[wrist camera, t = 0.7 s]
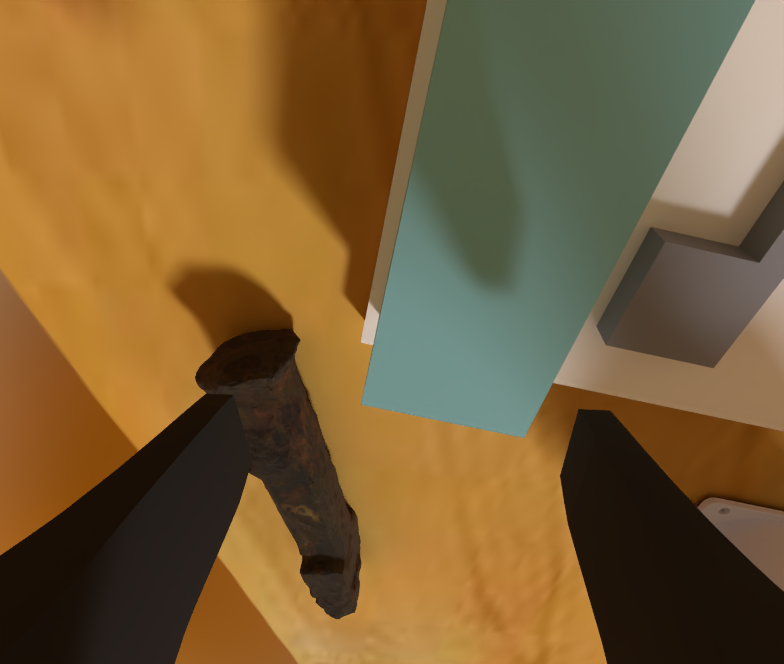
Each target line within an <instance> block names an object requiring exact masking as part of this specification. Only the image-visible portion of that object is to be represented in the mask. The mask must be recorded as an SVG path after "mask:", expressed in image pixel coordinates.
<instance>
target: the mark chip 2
mask: <svg viewBox="0 0 784 664" xmlns="http://www.w3.org/2000/svg"><path fill="white" fill-rule="evenodd" d="M739 247H740V248H741V249H742V250H744V251H745V252H746V253H748V254H749V255H750V256H751V257H753V258H754V259H755V260H756V261H758V262H759V263H762V264H767V265H771V266H776V267H780V268H784V181H783V183H782V184H781V185H780V187H779V188H778V190H777V191H776V193H775V194H774V196H773V197H772V199H771V200H770V202H769V203H768V204H767V206H766V207H765V209H764V210H763V212H762V213H761V215H760V216H759V218H758V219H757V221H756V222H755V223H754V225H753V226H752V228H751V229H750V231H749V232H748V234H747V235H746V237H745V238H744V240H743V241H742V243H741V244H740V245H739Z"/></svg>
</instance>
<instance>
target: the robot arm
mask: <svg viewBox="0 0 784 664" xmlns="http://www.w3.org/2000/svg"><path fill="white" fill-rule="evenodd" d="M251 461H252V457H251V453H250V450H249V446H248V443H247V440H246V436H245V433H244V429H243V426H242V422H241V419H240V415H239V412H238V409H237V405H236V402H235V398H234V395H228V394H205V395H204V396H203V397H202V398H200V399H199V400H198V401H197V402H195V403H194V404H193V405H192V406H191V407H190V408H188V409H187V410H186V411H185V412H184V413H183V414H181V415H180V416H179V417H178V418H177V419H176V420H175V421H173V422H172V423H171V424H170V425H169V426H168V427H166V428H165V429H164V430H163V431H162V432H161V433H160V434H158V435H157V436H156V437H155V438H154V439H153V440H151V441H150V442H149V443H148V444H147V445H145V446H144V447H143V448H142V449H141V450H140V451H138V452H137V453H136V454H135V455H134V456H132V457H131V458H130V459H129V460H128V461H126V462H125V463H124V464H123V465H122V466H121V467H119V468H118V469H117V470H116V471H114V472H113V473H112V474H110V475H109V476H108V477H107V478H105V479H104V480H103V481H102V482H100V483H99V484H98V485H97V486H95V487H94V488H93V489H92V490H90V491H89V492H87V493H86V494H85V495H84V496H82V497H81V498H80V499H79V500H77V501H76V502H75V503H73V504H72V505H71V506H70V507H69V508H67V509H66V510H64V511H63V512H62V513H60V514H59V515H58V516H56V517H55V518H53V519H52V520H51V521H49V522H48V523H47V524H45V525H44V526H42V527H41V528H40V529H38V530H37V531H35V532H34V533H32V534H31V535H29V536H28V537H27V538H25V539H24V540H22V541H21V542H19V543H18V544H16V545H15V546H13V547H12V548H11V549H9V550H8V551H6V552H5V553H3V554H2V555H0V664H175V661H176V658H177V655H178V652H179V648H180V645H181V643H182V639H183V636H184V634H185V631H186V628H187V625H188V623H189V620H190V618H191V615H192V613H193V610H194V607H195V605H196V603H197V601H198V598H199V596H200V594H201V591H202V589H203V587H204V584H205V582H206V580H207V578H208V575H209V573H210V571H211V568H212V566H213V564H214V561H215V559H216V557H217V554H218V552H219V550H220V548H221V545H222V543H223V541H224V538H225V536H226V534H227V531H228V529H229V527H230V524H231V522H232V519H233V517H234V515H235V512H236V510H237V507H238V505H239V502H240V499H241V496H242V493H243V489H244V486H245V483H246V479H247V476H248V472H249V468H250V465H251ZM560 478H561V484H562V491H563V497H564V504H565V509H566V515H567V521H568V526H569V529H570V533H571V536H572V540H573V544H574V547H575V551H576V554H577V558H578V561H579V565H580V568H581V572H582V575H583V578H584V582H585V585H586V589H587V592H588V596H589V599H590V603H591V606H592V609H593V613H594V616H595V620H596V623H597V627H598V630H599V634H600V637H601V641H602V644H603V648H604V652H605V656H606V660H607V664H784V511H779V510H775V509H770V508H765V507H760V506H755V505H750V504H745V503H740V502H735V501H730V500H725V499H720V498H714V497H712V498H708V499H705V500H704V501H703V502H702V503H701V504H700V505H699V506H698V507H696V506H695V505H694V504H693V503H692V502H691V500H690V499H689V498H688V497H687V496H686V495H685V494H684V493H683V492H682V491H681V490H680V489H679V488H678V487H677V486H676V484H675V483H674V482H673V481H672V480H671V479H670V478H669V477H668V476H667V475H666V473H665V472H664V471H663V470H662V469H661V468H660V467H659V466H658V465H657V463H656V462H655V461H654V460H653V459H652V458H651V457H650V455H649V454H648V453H647V452H646V451H645V450H644V449H643V448H642V446H641V445H640V444H639V443H638V442H637V441H636V440H635V438H634V437H633V436H632V435H631V434H630V433H629V431H628V430H627V429H626V428H625V427H624V426H623V425H622V423H621V422H620V421H619V420H618V419H617V418H616V417H615V416H614V414H613V413H612V412H611V411H607V410H583V409H579V410H578V414H577V417H576V421H575V424H574V428H573V431H572V435H571V439H570V442H569V446H568V449H567V453H566V457H565V460H564V464H563V467H562V471H561V474H560Z"/></svg>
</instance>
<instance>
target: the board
mask: <svg viewBox="0 0 784 664" xmlns="http://www.w3.org/2000/svg"><path fill="white" fill-rule="evenodd" d="M446 2H447V0H427V5H426V10H425V15H424V20H423V25H422V31H421V36H420V41H419V46H418V51H417V56H416V61H415V67H414V72H413V77H412V82H411V87H410V92H409V97H408V102H407V108H406V113H405V118H404V123H403V128H402V133H401V138H400V144H399V149H398V154H397V159H396V164H395V169H394V174H393V179H392V185H391V190H390V195H389V200H388V205H387V210H386V215H385V221H384V226H383V231H382V236H381V241H380V246H379V251H378V256H377V262H376V267H375V272H374V277H373V282H372V287H371V292H370V298H369V303H368V308H367V313H366V318H365V323H364V328H363V334H362V339H361V343H365V344H370V345H373V344H374V339H375V334H376V329H377V324H378V319H379V314H380V310H381V305H382V300H383V296H384V291H385V286H386V282H387V277H388V272H389V268H390V263H391V258H392V254H393V249H394V244H395V240H396V235H397V230H398V226H399V221H400V216H401V212H402V207H403V202H404V198H405V193H406V188H407V184H408V179H409V174H410V170H411V165H412V161H413V156H414V151H415V147H416V142H417V137H418V133H419V128H420V123H421V119H422V114H423V109H424V105H425V100H426V95H427V91H428V86H429V81H430V77H431V72H432V67H433V63H434V58H435V53H436V49H437V44H438V39H439V35H440V30H441V25H442V21H443V16H444V11H445V7H446ZM783 181H784V0H755V2H754V4H753V6H752V8H751V10H750V11H749V13H748V15H747V17H746V19H745V21H744V23H743V25H742V27H741V28H740V30H739V32H738V34H737V36H736V38H735V40H734V42H733V44H732V45H731V47H730V49H729V51H728V53H727V55H726V57H725V59H724V61H723V62H722V64H721V66H720V68H719V70H718V72H717V74H716V76H715V78H714V79H713V81H712V83H711V85H710V87H709V89H708V91H707V93H706V95H705V97H704V98H703V100H702V102H701V104H700V106H699V108H698V110H697V112H696V114H695V115H694V117H693V119H692V121H691V123H690V125H689V127H688V129H687V131H686V132H685V134H684V136H683V138H682V140H681V142H680V144H679V146H678V148H677V149H676V151H675V153H674V155H673V157H672V159H671V161H670V163H669V165H668V166H667V168H666V170H665V172H664V174H663V176H662V178H661V180H660V182H659V183H658V185H657V187H656V189H655V191H654V193H653V195H652V197H651V199H650V201H649V202H648V204H647V206H646V208H645V210H644V212H643V214H642V216H641V218H640V219H639V221H638V223H637V225H636V227H635V229H634V231H633V233H632V235H631V236H630V238H629V240H628V242H627V244H626V246H625V248H624V250H623V252H622V253H621V255H620V257H619V259H618V261H617V263H616V265H615V267H614V269H613V270H612V272H611V274H610V276H609V278H608V280H607V282H606V284H605V286H604V287H603V289H602V291H601V293H600V295H599V297H598V299H597V301H596V303H595V305H594V306H593V308H592V310H591V312H590V314H589V316H588V318H587V320H586V322H585V323H584V325H583V327H582V329H581V331H580V333H579V335H578V337H577V339H576V340H575V342H574V344H573V346H572V348H571V350H570V352H569V354H568V356H567V357H566V359H565V361H564V363H563V365H562V367H561V369H560V371H559V373H558V374H557V376H556V378H555V380H554V382H553V383H556V384H560V385H565V386H570V387H575V388H580V389H584V390H589V391H594V392H599V393H603V394H608V395H613V396H618V397H622V398H627V399H632V400H637V401H641V402H646V403H651V404H656V405H660V406H665V407H670V408H675V409H679V410H684V411H689V412H694V413H698V414H703V415H708V416H713V417H717V418H722V419H727V420H732V421H736V422H741V423H746V424H751V425H755V426H760V427H765V428H770V429H775V430H779V431H784V279H783V280H782V281H781V282H780V284H779V285H778V286H777V288H776V289H775V290H774V291H773V293H772V294H771V295H770V297H769V298H768V299H767V300H766V302H765V303H764V304H763V306H762V307H761V308H760V309H759V311H758V312H757V313H756V315H755V316H754V317H753V318H752V320H751V321H750V322H749V324H748V325H747V326H746V327H745V329H744V330H743V331H742V333H741V334H740V335H739V336H738V338H737V339H736V340H735V342H734V343H733V344H732V345H731V347H730V348H729V349H728V351H727V352H726V353H725V354H724V356H723V357H722V358H721V360H720V361H719V362H718V363H717V365H716V366H715V367H714V368H710V367H705V366H700V365H696V364H691V363H687V362H682V361H677V360H673V359H668V358H663V357H659V356H654V355H649V354H645V353H640V352H635V351H631V350H626V349H621V348H617V347H612V346H607V345H605V343H604V341H603V339H602V337H601V335H600V333H599V331H598V329H597V327H596V326H597V324H598V322H599V320H600V319H601V317H602V315H603V313H604V311H605V309H606V308H607V306H608V304H609V302H610V300H611V299H612V297H613V295H614V293H615V291H616V289H617V288H618V286H619V284H620V282H621V280H622V278H623V277H624V275H625V273H626V271H627V269H628V268H629V266H630V264H631V262H632V260H633V258H634V257H635V255H636V253H637V251H638V249H639V248H640V246H641V244H642V242H643V240H644V238H645V237H646V235H647V233H648V231H649V229H650V227H654V228H659V229H663V230H667V231H672V232H676V233H681V234H685V235H690V236H694V237H698V238H703V239H707V240H712V241H716V242H721V243H725V244H729V245H734V246H738V247H739V245H740V244H741V243H742V241H743V240H744V238H745V237H746V235H747V234H748V232H749V231H750V229H751V228H752V226H753V225H754V223H755V222H756V221H757V219H758V218H759V216H760V215H761V213H762V212H763V210H764V209H765V207H766V206H767V204H768V203H769V202H770V200H771V199H772V197H773V196H774V194H775V193H776V191H777V190H778V188H779V187H780V185H781V184H782V183H783Z"/></svg>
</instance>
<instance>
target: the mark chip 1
mask: <svg viewBox="0 0 784 664" xmlns="http://www.w3.org/2000/svg"><path fill="white" fill-rule="evenodd" d="M783 279H784V268H780V267H776V266H771V265H767V264H762V263H759V262H758V261H756V260H755V259H754V258H753V257H751V256H750V255H749V254H748V253H746V252H745V251H744V250H742V249H741V248H740V247H738V246H734V245H729V244H725V243H721V242H716V241H712V240H707V239H703V238H698V237H694V236H690V235H685V234H681V233H676V232H672V231H667V230H663V229H659V228H654V227H650V229H649V231H648V233H647V235H646V237H645V238H644V240H643V242H642V244H641V246H640V248H639V249H638V251H637V253H636V255H635V257H634V258H633V260H632V262H631V264H630V266H629V268H628V269H627V271H626V273H625V275H624V277H623V278H622V280H621V282H620V284H619V286H618V288H617V289H616V291H615V293H614V295H613V297H612V299H611V300H610V302H609V304H608V306H607V308H606V309H605V311H604V313H603V315H602V317H601V319H600V320H599V322H598V324H597V326H596V327H597V329H598V331H599V333H600V335H601V337H602V339H603V341H604V343H605V345H607V346H612V347H617V348H621V349H626V350H631V351H635V352H640V353H645V354H649V355H654V356H659V357H663V358H668V359H673V360H677V361H682V362H687V363H691V364H696V365H700V366H705V367H710V368H714V367H715V366H716V365H717V363H718V362H719V361H720V360H721V358H722V357H723V356H724V354H725V353H726V352H727V351H728V349H729V348H730V347H731V345H732V344H733V343H734V342H735V340H736V339H737V338H738V336H739V335H740V334H741V333H742V331H743V330H744V329H745V327H746V326H747V325H748V324H749V322H750V321H751V320H752V318H753V317H754V316H755V315H756V313H757V312H758V311H759V309H760V308H761V307H762V306H763V304H764V303H765V302H766V300H767V299H768V298H769V297H770V295H771V294H772V293H773V291H774V290H775V289H776V288H777V286H778V285H779V284H780V282H781V281H782V280H783Z"/></svg>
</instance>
